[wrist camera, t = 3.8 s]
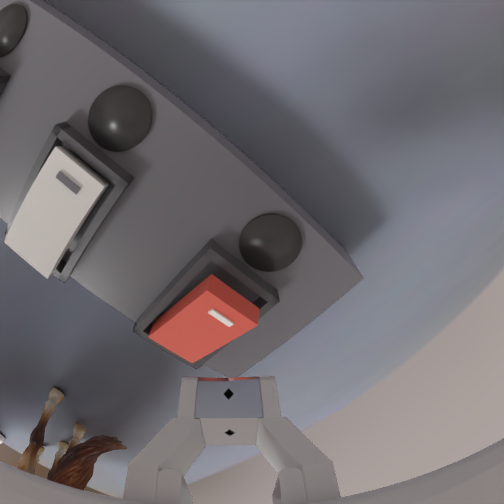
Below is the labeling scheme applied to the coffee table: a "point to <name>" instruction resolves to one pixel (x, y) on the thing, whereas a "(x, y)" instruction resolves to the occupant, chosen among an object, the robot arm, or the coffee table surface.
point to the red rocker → (204, 320)
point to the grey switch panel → (156, 190)
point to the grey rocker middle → (54, 210)
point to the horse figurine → (67, 450)
